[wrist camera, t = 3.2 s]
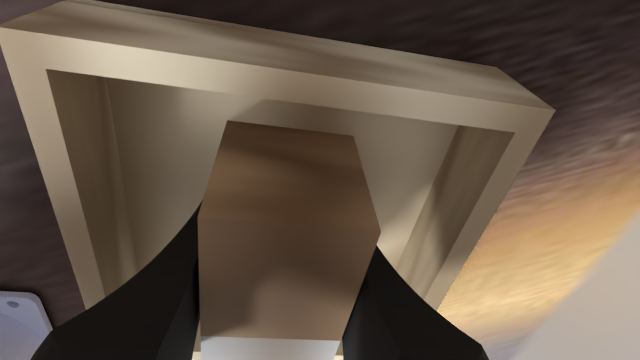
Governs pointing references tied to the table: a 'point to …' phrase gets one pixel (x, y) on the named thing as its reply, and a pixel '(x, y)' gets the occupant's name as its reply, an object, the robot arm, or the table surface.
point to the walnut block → (282, 243)
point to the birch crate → (259, 108)
